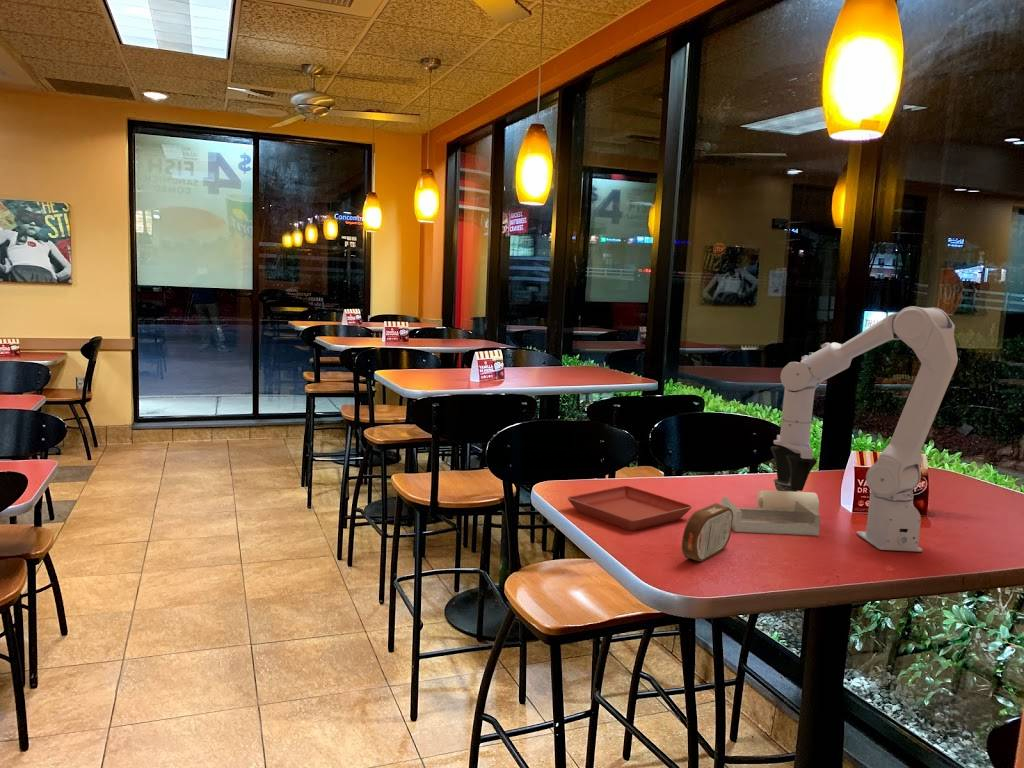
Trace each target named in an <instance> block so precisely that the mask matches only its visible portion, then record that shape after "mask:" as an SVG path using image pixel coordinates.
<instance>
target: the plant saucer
mask: <svg viewBox="0 0 1024 768" xmlns="http://www.w3.org/2000/svg"><path fill="white" fill-rule="evenodd" d="M567 500H568V502H569V503H570V504H571V505H572V506H573V508H574V509H575V510H576V511H577V512H578V513H580V512H581V514H583V515H587V516H588V515H589V516H588V517H591V516H592V517H591V518H594V517H595V519H597V518H598V520H600V519H601V520H600V521H602V520H603V521H602V522H605V521H606V523H608V522H609V523H608V524H611V523H612V524H611V525H613V524H614V526H616V525H617V526H616V527H619V526H620V527H619V528H622V527H623V528H622V529H624V528H625V530H627V529H628V530H627V531H630V530H634V531H637V529H638V530H641V529H646V528H649V527H654V526H657V525H662V524H667V523H670V522H674V520H675V521H677V520H678V519H679V520H680V519H681V518H683V517H684V516H685V515H687V514H688V513H689V512H690V510H691V509H692V508H693V505H692V504H688V503H685V502H682V501H678V500H676V499H672V498H669V497H666V496H663V495H660V494H656V493H653V492H649V491H647V490H643V489H640V488H636V487H633V486H631V485H622V486H616V487H612V488H605V489H602V490H595V491H591V492H587V493H581V494H576V495H571V496H568V497H567Z"/></svg>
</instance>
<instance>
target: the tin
mask: <svg viewBox="0 0 1024 768" xmlns="http://www.w3.org/2000/svg"><path fill="white" fill-rule="evenodd" d="M732 521H733V512H732V510H731V509H730V508H728V507H726V506H722V505H721V504H720V503H717V502H716V503H713V504H710V505H708V506H705V507H702V508H700V509H697V510H695V511H694V512H693V513H692V514H691V515H690V517H689V519H688V521H687V523H686V525H685V527H684V531H683V535H682V540H681V550H682V551H681V552H682V554H683V557H684V558H686V559H690V560H692V561H696V562H699V563H700V562H703V561H706V560H708V559H709V558H711V557H712V558H713V556H715V555H717V554H719V553H721V552H723V551H724V549H725V548H726V546H727V544H728V543H729V541H730V539H731V535H732V534H731V532H732Z"/></svg>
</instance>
